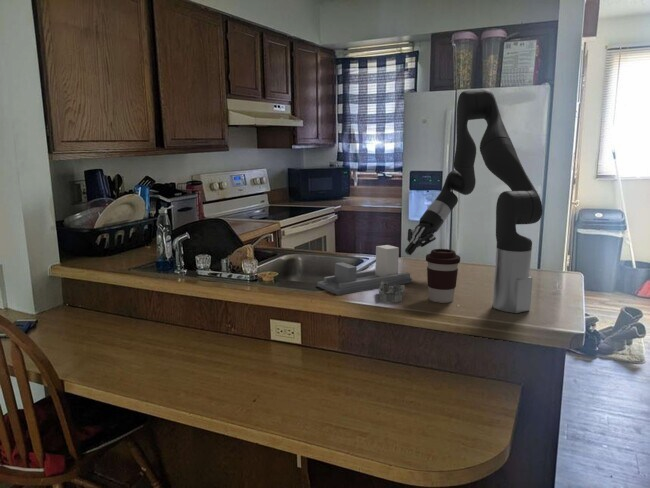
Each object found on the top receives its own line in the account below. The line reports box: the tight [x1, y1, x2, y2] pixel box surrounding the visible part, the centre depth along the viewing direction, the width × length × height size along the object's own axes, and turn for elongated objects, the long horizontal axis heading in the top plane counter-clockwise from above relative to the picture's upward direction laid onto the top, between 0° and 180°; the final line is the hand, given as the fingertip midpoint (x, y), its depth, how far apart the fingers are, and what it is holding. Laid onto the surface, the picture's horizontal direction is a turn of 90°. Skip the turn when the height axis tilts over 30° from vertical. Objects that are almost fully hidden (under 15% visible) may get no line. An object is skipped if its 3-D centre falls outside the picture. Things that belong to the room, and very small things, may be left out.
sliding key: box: [375, 244, 400, 277], centre depth 173 cm, size 6×5×10 cm
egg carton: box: [378, 281, 405, 303], centre depth 155 cm, size 11×8×4 cm
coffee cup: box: [425, 248, 461, 304], centre depth 151 cm, size 10×10×15 cm
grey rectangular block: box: [334, 262, 358, 283], centre depth 165 cm, size 8×4×6 cm, turn 32°
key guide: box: [316, 269, 413, 296], centre depth 169 cm, size 12×30×3 cm, turn 122°
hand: (407, 253), depth 177 cm, fingers closed
